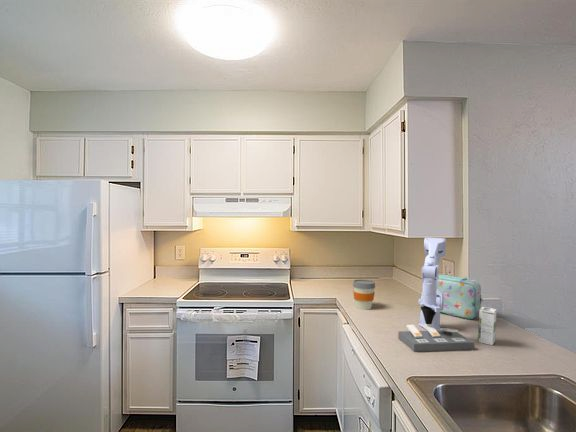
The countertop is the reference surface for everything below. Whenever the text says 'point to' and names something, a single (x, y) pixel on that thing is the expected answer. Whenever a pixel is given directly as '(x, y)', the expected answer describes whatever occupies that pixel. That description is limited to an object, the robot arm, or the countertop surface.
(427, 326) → the rocker middle
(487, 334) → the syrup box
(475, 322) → the countertop surface
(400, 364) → the countertop surface
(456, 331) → the rocker
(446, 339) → the power strip
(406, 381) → the countertop surface
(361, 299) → the reusable coffee cup
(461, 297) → the lunch box
